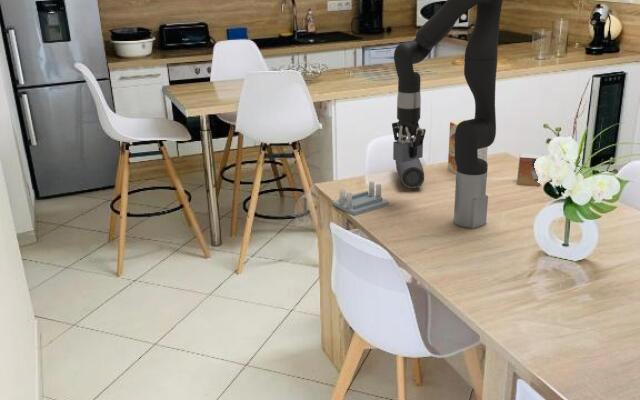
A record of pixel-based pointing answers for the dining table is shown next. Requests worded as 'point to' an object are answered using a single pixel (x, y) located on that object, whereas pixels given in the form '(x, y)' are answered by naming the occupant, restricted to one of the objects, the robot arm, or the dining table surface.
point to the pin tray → (361, 200)
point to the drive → (405, 151)
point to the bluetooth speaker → (410, 173)
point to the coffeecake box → (451, 156)
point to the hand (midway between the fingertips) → (407, 155)
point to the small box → (527, 169)
